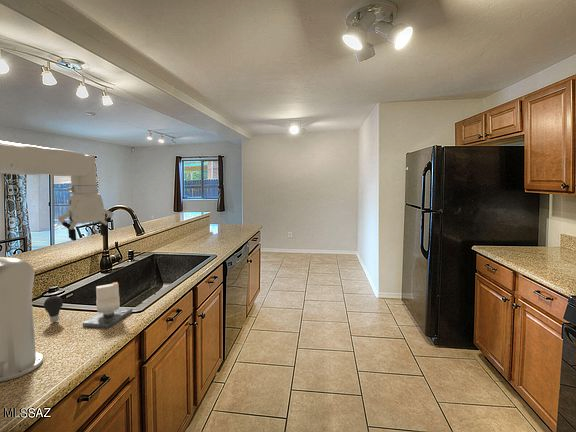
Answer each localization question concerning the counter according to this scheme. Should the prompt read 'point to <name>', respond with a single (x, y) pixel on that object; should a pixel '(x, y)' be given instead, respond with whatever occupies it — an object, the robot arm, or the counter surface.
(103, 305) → the twist cap
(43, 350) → the counter surface
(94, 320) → the plate
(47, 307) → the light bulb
